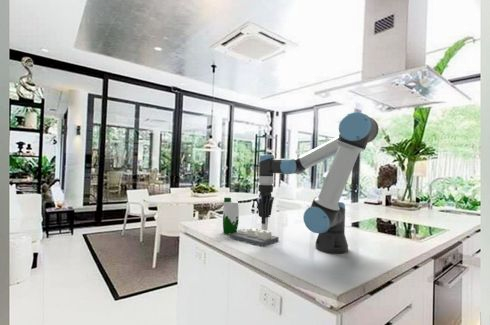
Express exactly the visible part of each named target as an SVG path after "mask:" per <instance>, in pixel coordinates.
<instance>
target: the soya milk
mask: <svg viewBox="0 0 490 325" xmlns="http://www.w3.org/2000/svg"><path fill="white" fill-rule="evenodd" d="M223 198H224V199H223V207H222V209H223V210H222V230H223V234H227V235H230V234H232V233H236V232H238V227H239V213H240V211H239V201H238V200H232V198H231V197H223Z"/></svg>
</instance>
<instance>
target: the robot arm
mask: <svg viewBox="0 0 490 325" xmlns="http://www.w3.org/2000/svg"><path fill="white" fill-rule="evenodd" d="M338 132H339V134H338V136H336V137H335V138H332V139H331V140H329V141H327V142H325V143H322V144H321V145H319V146H317V147H314V148H313V149H311V150H309V151H307V152H305V153H304V154H302V155H299V156H297V157H296V158H275V156H274V155H273V154H265V153H264V154H260V155H259V158H258V159H259V160H258V183H259V184H258V186H257V187H258V190H257V191H258V192H259V195H258V196H259V197H257V198H256V199H255V200H256V203H257V204H256V205H257V211H258V217H260V218H261V231H263V230H265V231H268V227H269V226H268V224H269V218H271V215H272V209H273V204H274V199H275V197H274V196H272V193H273V191H274V185H273V184H274V174H278V175H279V174H281V175H293V174H295V175H296V174H297V175H299V174H303V173H304V172H305V171H306V170H307V169H310V168H312V167H313V166H316V165H318V164H321V163H322V162H325V161H326V160H329V159H331V158H332V157H333V160H332V162H331V165H330V168H329V169H328V172H327V175H326V177H325V179H324V182H323V184H322V187H321V189H320V192H319V195H318V196H316V197H314V198H313V200H312V202H311V206H310V207H307V208H306V210H305V211H304V213H303V223H304V224H305V227H306V228H307V229H308V230H309V231H310V232H312V233H314V234H317V238H316V240H315V248H316V249H317V250H319V251H321V252H325V253H329V254H345V253H348V252H349V244H348V242H347V238H346V232H345V229H346V228H345V226H346V225H345V224H346V222H345V221H346V204H345V203H344V202H341V201H340V200H341V197H342V194H343V192H344V191H345V190H344V189H345V188H346V186H347V182H348V180H349V178H350V176H351V173H352V171H353V168H354V167H355V163H356V161H357V159H358V157H359V154H360V153H361V152H363V151H366V148H367V145H368V144H369V143H371V142H373V141H374V140H375V139H376V138H377V137H378V133H379V124H378V122H377V121H376V120H375V119H374V118H372V117H370V116H369V115H367V114H365V113H363V112H358V111H357V112H354V111H353V112H350V113H347V114H346V115H344V116H343V117H342V119H340V122H339V124H338Z"/></svg>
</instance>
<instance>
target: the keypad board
mask: <svg viewBox="0 0 490 325" xmlns="http://www.w3.org/2000/svg"><path fill="white" fill-rule="evenodd" d="M229 239H233V240H237V241H240V242H244V243H249V244H252V245H255V246H260V247H265V246H267V245H270V244H273V243H276V242H279V236H275V235H272V234H271V239H268V240H263V239H259V238H258V237H251V236H247V234H246V235H242V234H238V231H237V232H236V233H232V234H229Z"/></svg>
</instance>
